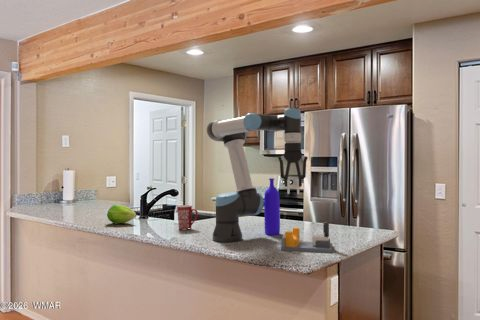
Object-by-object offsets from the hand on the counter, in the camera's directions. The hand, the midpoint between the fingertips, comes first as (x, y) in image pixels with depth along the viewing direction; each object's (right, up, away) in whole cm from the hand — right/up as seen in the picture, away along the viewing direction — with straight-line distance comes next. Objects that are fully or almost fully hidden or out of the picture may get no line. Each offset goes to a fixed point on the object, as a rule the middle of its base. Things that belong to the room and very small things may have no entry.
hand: (293, 193), depth 179 cm
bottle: (-7, -25, +32) cm, 41 cm away
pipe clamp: (+1, -23, 0) cm, 23 cm away
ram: (+12, -23, -3) cm, 26 cm away
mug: (-55, -25, +50) cm, 78 cm away
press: (+6, -25, -1) cm, 25 cm away
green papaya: (-99, -26, +71) cm, 125 cm away
